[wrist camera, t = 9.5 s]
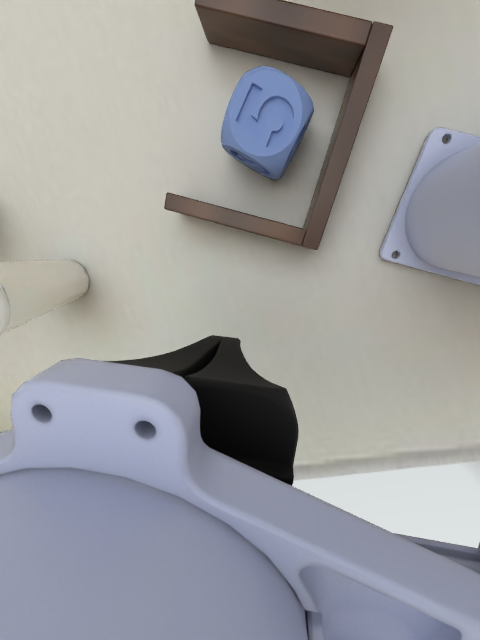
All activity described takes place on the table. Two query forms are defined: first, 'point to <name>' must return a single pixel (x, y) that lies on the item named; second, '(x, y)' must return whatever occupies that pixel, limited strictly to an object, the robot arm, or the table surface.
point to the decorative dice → (266, 120)
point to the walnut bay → (308, 50)
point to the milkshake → (37, 288)
